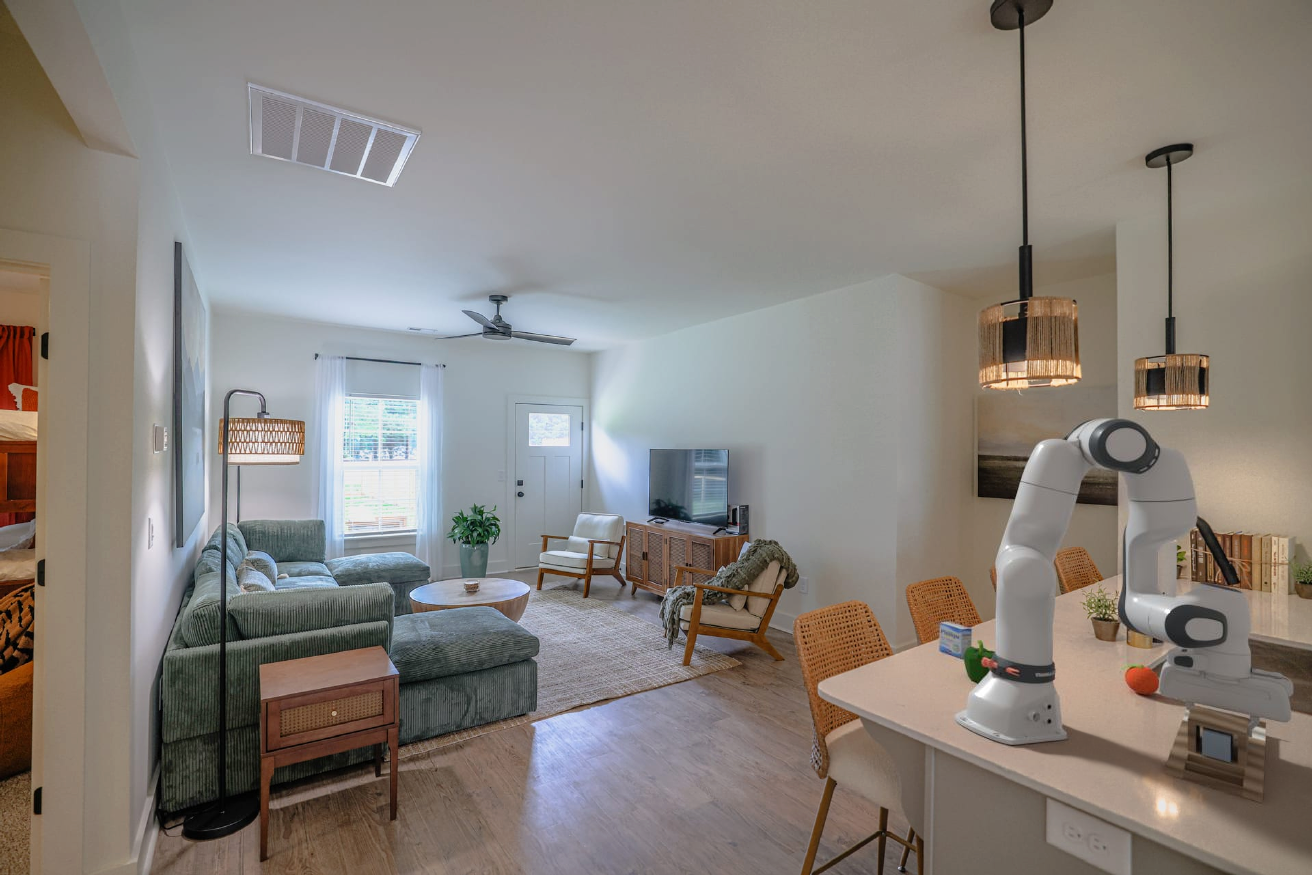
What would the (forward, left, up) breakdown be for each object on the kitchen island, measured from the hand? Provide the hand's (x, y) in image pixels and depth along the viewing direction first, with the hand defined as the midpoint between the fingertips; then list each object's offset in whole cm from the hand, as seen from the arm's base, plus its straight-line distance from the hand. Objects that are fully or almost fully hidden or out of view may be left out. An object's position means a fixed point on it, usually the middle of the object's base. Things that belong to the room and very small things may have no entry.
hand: (1221, 729), depth 127 cm
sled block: (-6, -2, -1) cm, 6 cm away
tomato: (+16, +23, -4) cm, 29 cm away
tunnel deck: (-5, -2, -3) cm, 6 cm away
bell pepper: (-15, +44, -4) cm, 47 cm away
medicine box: (-3, +62, -4) cm, 63 cm away
